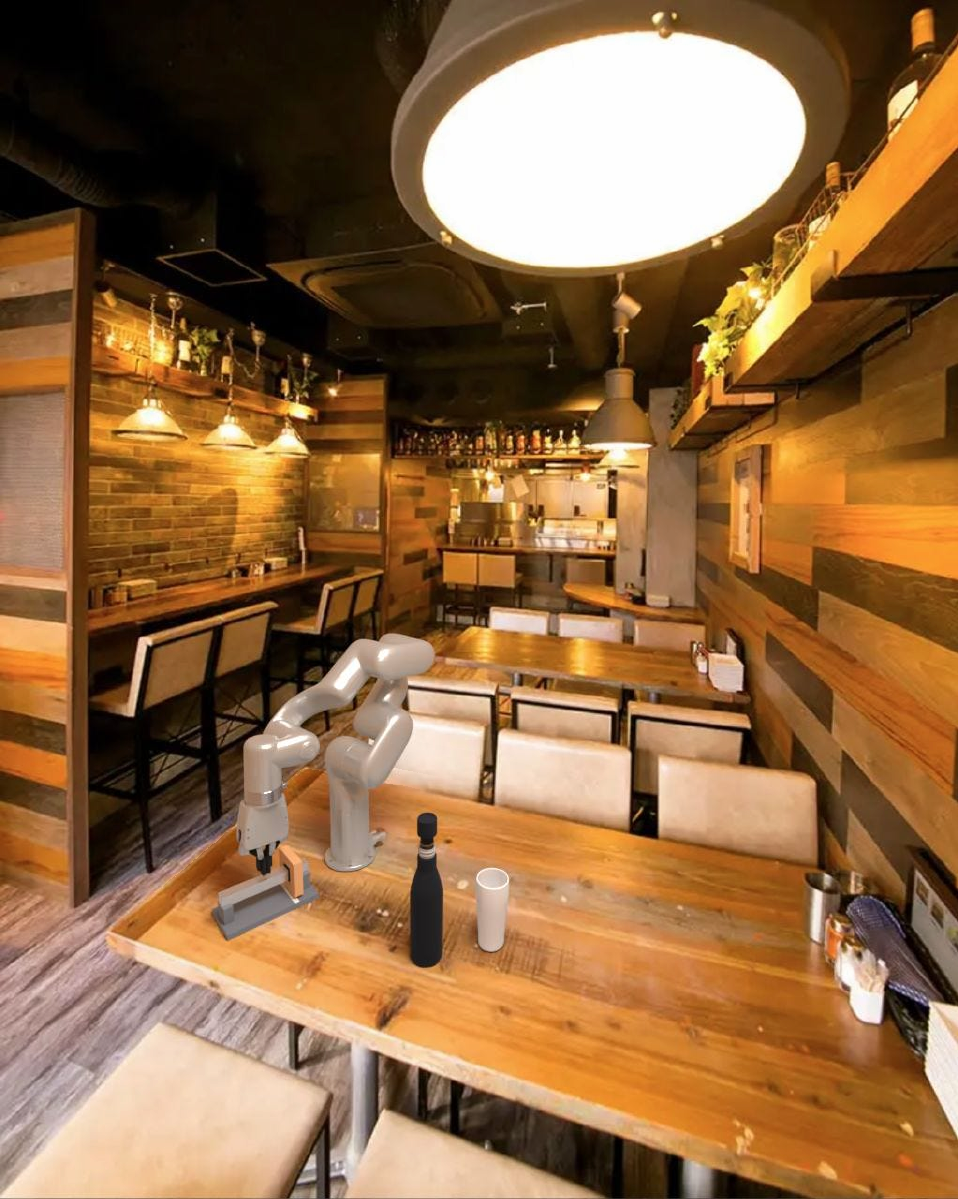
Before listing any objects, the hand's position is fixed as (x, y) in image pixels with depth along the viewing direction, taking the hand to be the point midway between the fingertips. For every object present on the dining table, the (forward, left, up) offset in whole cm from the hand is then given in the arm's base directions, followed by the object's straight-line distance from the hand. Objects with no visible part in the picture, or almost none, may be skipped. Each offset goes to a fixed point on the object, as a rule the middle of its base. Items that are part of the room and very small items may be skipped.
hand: (264, 871), depth 126 cm
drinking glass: (-31, +40, -9) cm, 51 cm away
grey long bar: (0, 0, -4) cm, 4 cm away
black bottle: (-19, +34, -9) cm, 40 cm away
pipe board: (0, 0, -9) cm, 9 cm away
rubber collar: (-6, 0, -7) cm, 9 cm away
